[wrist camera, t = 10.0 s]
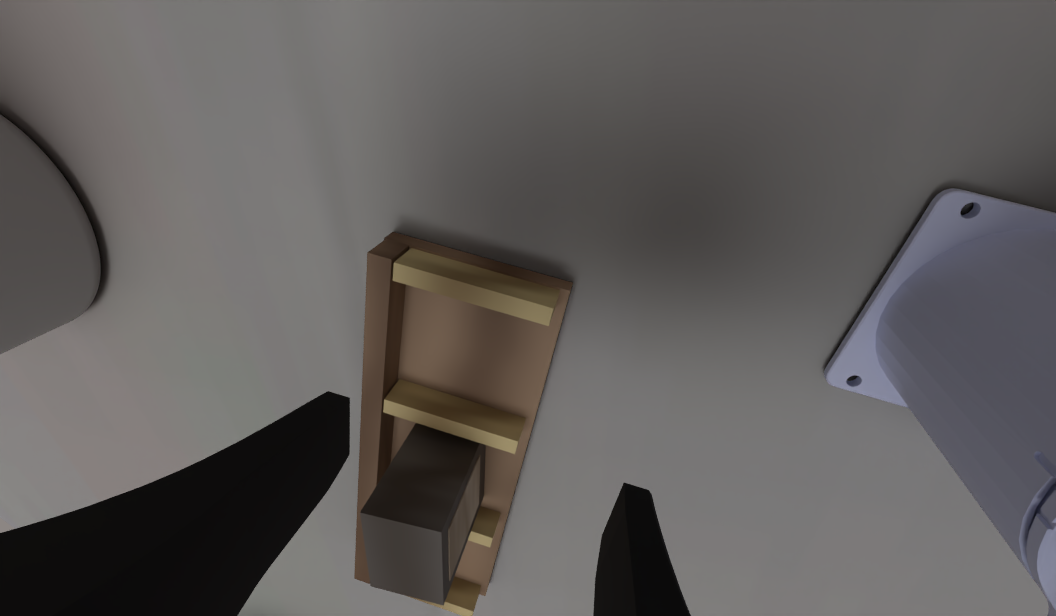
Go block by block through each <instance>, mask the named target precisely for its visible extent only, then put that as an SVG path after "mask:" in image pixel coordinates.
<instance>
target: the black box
mask: <svg viewBox="0 0 1056 616" xmlns="http://www.w3.org/2000/svg"><path fill="white" fill-rule="evenodd" d="M485 452H486V445H484V444H481V443H478V442H475V441H472V440H469V439H466V438H462V437H459V436H456V435H453V434H450V433H447V432H444V431H440V430H437V429H434V428H431V427H428V426H425V425H422V424H418V423H416V424H415V425H414V427H413V428H412V430H411V432H410V433H409V435H408V436H407V438H406V440H405V441H404V443H403V444H402V446H401V448H400V449H399V451H398V452H397V454H396V456H395V457H394V459H393V460H392V462H391V464H390V465H389V467H388V468H387V470H386V472H385V473H384V475H383V476H382V478H381V480H380V481H379V483H378V484H377V486H376V488H375V489H374V491H373V492H372V494H371V496H370V497H369V499H368V500H367V502H366V504H365V505H364V507H363V508H362V510H361V512H360V517H361V524H362V530H363V537H364V544H365V551H366V558H367V565H368V572H369V578H370V585H371V586H372V587H376V588H380V589H383V590H387V591H391V592H395V593H398V594H402V595H406V596H410V597H413V598H417V599H421V600H425V601H428V602H432V603H436V604H439V605H443V606H444V603H445V600H446V598H447V595H448V592H449V590H450V587H451V584H452V581H453V579H454V576H455V573H456V571H457V568H458V565H459V562H460V560H461V557H462V554H463V552H464V549H465V546H466V544H467V541H468V538H469V535H470V533H471V530H472V527H473V525H474V522H475V519H476V517H477V514H478V511H479V508H480V506H481V503H482V500H483V498H484V483H485Z"/></svg>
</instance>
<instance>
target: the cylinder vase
mask: <svg viewBox="0 0 1056 616" xmlns="http://www.w3.org/2000/svg"><path fill="white" fill-rule="evenodd" d="M100 275H101V264H100V255H99V249H98V245H97V241H96V238H95V234H94V232H93V229H92V226H91V224H90V221H89V219H88V217H87V214H86V212H85V210H84V208H83V206H82V205H81V203H80V201H79V199H78V197H77V196H76V194H75V192H74V191H73V189H72V188H71V186H70V185H69V183H68V182H67V180H66V179H65V178H64V176H63V175H62V174H61V172H60V171H59V170H58V168H57V167H56V166H55V165H54V163H53V162H52V161H51V160H50V159H49V158H48V156H47V155H46V154H45V153H44V152H43V151H42V150H41V149H40V148H39V147H38V146H37V145H36V144H35V143H34V142H33V141H32V140H31V139H30V138H29V137H28V136H27V135H26V134H25V133H23V132H22V131H21V130H20V129H19V128H18V127H16V126H15V125H14V124H13V123H11V122H10V121H9V120H7V119H6V118H5V117H3V116H2V115H1V114H0V354H2V353H4V352H6V351H8V350H10V349H12V348H15V347H17V346H19V345H21V344H23V343H25V342H27V341H29V340H32V339H34V338H36V337H38V336H40V335H42V334H44V333H46V332H49V331H51V330H53V329H55V328H57V327H59V326H61V325H64V324H66V323H68V322H70V321H72V320H74V319H75V318H77V317H78V316H80V315H81V314H82V313H83V312H84V311H86V309H87V308H88V307H89V306H90V305H91V303H92V301H93V300H94V298H95V296H96V293H97V291H98V287H99V283H100Z"/></svg>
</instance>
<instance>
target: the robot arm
mask: <svg viewBox="0 0 1056 616" xmlns="http://www.w3.org/2000/svg"><path fill="white" fill-rule="evenodd" d="M971 202H973V204H974V206H973V209H972V210H971V211H970V212H969V213H967V214H964V215H961V214H960V212H961V209H962V208H963V207H964V206H965V205H966V204H968V203H971ZM853 375H855V376H858V377H857V378H856V379H855V380H852V381H847V379H848V378H849V377H850V376H853ZM824 377H825V379H826V380H827V382H828V383H829V384H830V385H832V386H834V387H838V388H841V389H845V390H848V391H851V392H855V393H858V394H862V395H865V396H869V397H872V398H876V399H879V400H883V401H886V402H890V403H893V404H897V405H900V406H904V407H907V408H909V409H910V410H911V411H912V413H913V414H914V415H915V417H916V418H917V420H918V421H919V422H920V424H921V425H922V426H923V428H924V429H925V431H926V432H927V433H928V435H929V436H930V438H931V439H932V440H933V442H934V443H935V444H936V446H937V447H938V449H939V450H940V451H941V453H942V454H943V455H944V457H945V458H946V460H947V461H948V462H949V464H950V465H951V467H952V468H953V469H954V471H955V472H956V473H957V475H958V476H959V478H960V479H961V480H962V482H963V483H964V484H965V486H966V487H967V489H968V490H969V491H970V493H971V494H972V496H973V497H974V498H975V500H976V501H977V502H978V504H979V505H980V507H981V508H982V509H983V511H984V512H985V513H986V515H987V516H988V518H989V519H990V520H991V522H992V523H993V525H994V526H995V527H996V529H997V530H998V531H999V533H1000V534H1001V536H1002V537H1003V538H1004V540H1005V541H1006V542H1007V544H1008V545H1009V547H1010V548H1011V549H1012V551H1013V552H1014V554H1015V555H1016V556H1017V558H1018V559H1019V560H1020V562H1021V563H1022V565H1023V566H1024V567H1025V569H1026V570H1027V571H1028V573H1029V574H1030V576H1031V577H1032V578H1033V579H1034V580H1035V582H1036V583H1037V585H1038V586H1039V587H1040V589H1041V590H1042V592H1043V594H1044V595H1045V597H1046V598H1047V600H1048V605H1049V612H1048V615H1047V616H1056V213H1055V212H1051V211H1047V210H1043V209H1039V208H1035V207H1031V206H1027V205H1023V204H1019V203H1015V202H1010V201H1006V200H1002V199H998V198H994V197H990V196H986V195H982V194H978V193H974V192H970V191H966V190H962V189H956V188H950V189H947V190H943V191H942V192H940V193H939V194H937V195H936V196H935V197H934V198H933V200H932V201H931V203H930V204H929V206H928V207H927V209H926V211H925V212H924V214H923V215H922V217H921V219H920V220H919V222H918V223H917V225H916V226H915V228H914V230H913V231H912V233H911V234H910V236H909V237H908V239H907V241H906V242H905V244H904V245H903V247H902V248H901V250H900V252H899V253H898V255H897V256H896V258H895V259H894V261H893V263H892V264H891V266H890V267H889V269H888V270H887V272H886V274H885V275H884V277H883V278H882V280H881V281H880V283H879V285H878V286H877V288H876V289H875V291H874V293H873V294H872V296H871V297H870V299H869V300H868V302H867V304H866V305H865V307H864V308H863V310H862V311H861V313H860V315H859V316H858V318H857V319H856V321H855V322H854V324H853V326H852V327H851V329H850V330H849V332H848V333H847V335H846V337H845V338H844V340H843V341H842V343H841V344H840V346H839V348H838V349H837V351H836V352H835V354H834V356H833V357H832V359H831V360H830V362H829V363H828V365H827V367H826V368H825V371H824ZM349 447H350V398H348V397H345V396H342V395H339V394H335V393H332V392H329V391H328V392H326V393H324V394H322V395H320V396H318V397H317V398H315V399H313V400H311V401H310V402H308V403H306V404H304V405H303V406H301V407H299V408H298V409H296V410H294V411H292V412H291V413H289V414H287V415H286V416H284V417H282V418H280V419H279V420H277V421H275V422H273V423H272V424H270V425H268V426H266V427H264V428H262V429H261V430H259V431H257V432H255V433H253V434H252V435H250V436H248V437H246V438H244V439H243V440H241V441H239V442H237V443H235V444H233V445H231V446H229V447H227V448H225V449H223V450H221V451H219V452H217V453H215V454H213V455H211V456H209V457H207V458H205V459H203V460H201V461H199V462H197V463H195V464H193V465H191V466H188V467H186V468H184V469H182V470H180V471H178V472H175V473H173V474H170V475H168V476H166V477H163V478H161V479H159V480H156V481H154V482H152V483H149V484H147V485H144V486H142V487H139V488H136V489H134V490H131V491H128V492H126V493H123V494H120V495H117V496H115V497H112V498H109V499H107V500H104V501H101V502H98V503H96V504H93V505H90V506H87V507H84V508H81V509H78V510H75V511H72V512H69V513H66V514H63V515H60V516H57V517H54V518H50V519H47V520H44V521H40V522H37V523H34V524H31V525H27V526H24V527H20V528H17V529H13V530H10V531H6V532H3V533H0V616H237V615H238V614H239V612H240V610H241V609H242V607H243V606H244V604H245V603H246V601H247V599H248V598H249V596H250V595H251V593H252V592H253V590H254V588H255V587H256V585H257V584H258V582H259V581H260V580H261V578H262V577H263V575H264V574H265V573H266V571H267V570H268V568H269V567H270V566H271V564H272V563H273V562H274V561H275V559H276V558H277V557H278V555H279V554H280V553H281V551H282V550H283V549H284V547H285V546H286V545H287V544H288V542H289V541H290V540H291V538H292V537H293V536H294V534H295V533H296V532H297V531H298V529H299V528H300V527H301V525H302V524H303V523H304V521H305V520H306V519H307V518H308V516H309V515H310V514H311V512H312V511H313V510H314V508H315V507H316V506H317V504H318V503H319V502H320V500H321V499H322V498H323V496H324V495H325V494H326V492H327V491H328V490H329V488H330V486H331V485H332V483H333V481H334V480H335V478H336V477H337V475H338V473H339V471H340V470H341V468H342V466H343V465H344V463H345V461H346V459H347V458H348V456H349ZM594 616H691V615H690V613H689V610H688V608H687V605H686V603H685V600H684V597H683V595H682V592H681V590H680V587H679V584H678V581H677V578H676V575H675V573H674V570H673V567H672V564H671V561H670V558H669V555H668V552H667V549H666V546H665V542H664V539H663V536H662V533H661V529H660V526H659V522H658V518H657V515H656V511H655V507H654V503H653V498H652V495H651V493H650V491H649V490H647V489H643V488H640V487H637V486H634V485H630V484H627V483H624V484H623V486H622V488H621V491H620V493H619V496H618V498H617V501H616V503H615V505H614V508H613V510H612V513H611V515H610V517H609V520H608V522H607V525H606V527H605V530H604V532H603V534H602V539H601V545H600V552H599V558H598V565H597V571H596V578H595V597H594Z"/></svg>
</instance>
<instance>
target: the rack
mask: <svg viewBox="0 0 1056 616" xmlns="http://www.w3.org/2000/svg"><path fill="white" fill-rule="evenodd" d="M572 285H573V283H572V282H569V281H565V280H562V279H558V278H555V277H551V276H548V275H544V274H540V273H537V272H533V271H530V270H526V269H523V268H519V267H516V266H512V265H509V264H505V263H502V262H498V261H494V260H491V259H487V258H484V257H480V256H477V255H473V254H470V253H466V252H463V251H459V250H455V249H452V248H448V247H445V246H441V245H438V244H434V243H431V242H427V241H424V240H420V239H416V238H413V237H409V236H406V235H402V234H399V233H395V232H392V233H391V234H389V235H388V236H387V237H385V238H384V241H383V242H381V243H380V244H379V245H377V246H376V247H375V248H373V249H372V250H370V251H369V252H368V253H367V278H366V303H365V328H364V353H363V378H362V403H361V428H360V453H359V478H358V503H357V528H356V553H355V579H357V580H360V581H363V582H366V583H369V584H370V578H369V572H368V565H367V558H366V551H365V544H364V537H363V530H362V524H361V517H360V512H361V510H362V508H363V507H364V505H365V504H366V502H367V500H368V499H369V497H370V496H371V494H372V492H373V491H374V489H375V488H376V486H377V484H378V483H379V481H380V480H381V478H382V476H383V475H384V473H385V472H386V470H387V468H388V467H389V465H390V464H391V462H392V460H393V459H394V457H395V456H396V454H397V452H398V451H399V449H400V448H401V446H402V444H403V443H404V441H405V440H406V438H407V436H408V435H409V433H410V432H411V430H412V428H413V427H414V425H415V424H416V423H418V424H422V425H425V426H428V427H431V428H434V429H437V430H440V431H444V432H447V433H450V434H453V435H456V436H459V437H462V438H466V439H469V440H472V441H475V442H478V443H481V444H484V445H486V452H485V483H484V498H483V500H482V503H481V506H480V508H479V511H478V514H477V517H476V519H475V522H474V525H473V527H472V530H471V533H470V535H469V538H468V541H467V544H466V546H465V549H464V552H463V554H462V557H461V560H460V562H459V565H458V568H457V571H456V573H455V576H454V579H453V581H452V584H451V587H450V590H449V592H448V595H447V598H446V600H445V603H444V606H443V605H439V604H436V603H432V602H428V601H425V600H421V599H417V598H414V599H417V600H420V601H422V602H425V603H428V604H431V605H434V606H437V607H439V608H442V609H445V610H448V611H451V612H454V613H456V614H459V615H462V616H472V615H473V612H474V608H475V605H476V602H477V599H478V596H479V594H481V595H484V596H485V595H486V592H487V588H488V585H489V581H490V578H491V574H492V571H493V567H494V564H495V560H496V556H497V553H498V549H499V546H500V542H501V538H502V535H503V531H504V528H505V524H506V521H507V517H508V513H509V510H510V506H511V503H512V499H513V496H514V492H515V488H516V485H517V481H518V478H519V474H520V471H521V467H522V463H523V460H524V456H525V453H526V449H527V446H528V442H529V438H530V435H531V431H532V428H533V424H534V420H535V417H536V413H537V410H538V406H539V403H540V399H541V395H542V392H543V388H544V385H545V381H546V378H547V374H548V370H549V367H550V363H551V360H552V356H553V353H554V349H555V345H556V342H557V338H558V335H559V331H560V327H561V324H562V320H563V317H564V313H565V310H566V306H567V302H568V299H569V295H570V292H571V288H572ZM405 596H406V595H405ZM408 597H410V596H408ZM411 598H413V597H411Z"/></svg>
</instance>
